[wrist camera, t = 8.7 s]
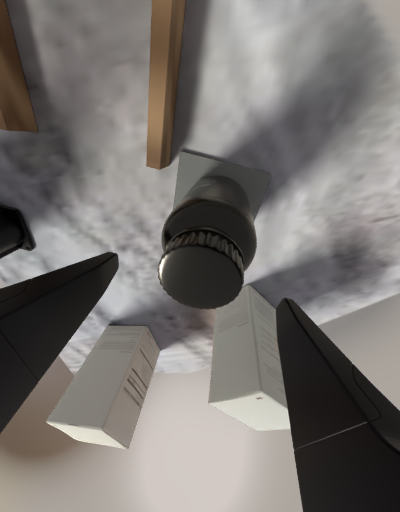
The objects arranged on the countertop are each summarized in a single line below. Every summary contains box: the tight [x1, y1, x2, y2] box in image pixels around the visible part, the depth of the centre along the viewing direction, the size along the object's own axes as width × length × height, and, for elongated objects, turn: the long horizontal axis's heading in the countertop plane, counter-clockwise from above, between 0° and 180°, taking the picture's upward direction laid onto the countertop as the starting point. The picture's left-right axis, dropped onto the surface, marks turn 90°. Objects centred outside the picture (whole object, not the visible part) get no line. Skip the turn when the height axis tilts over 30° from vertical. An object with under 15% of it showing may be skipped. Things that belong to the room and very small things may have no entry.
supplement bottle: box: [158, 175, 257, 309], centre depth 15 cm, size 7×7×12 cm
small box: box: [209, 285, 291, 431], centre depth 22 cm, size 8×6×13 cm
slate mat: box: [173, 151, 272, 220], centre depth 20 cm, size 9×9×1 cm
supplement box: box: [46, 326, 160, 449], centre depth 31 cm, size 9×9×15 cm
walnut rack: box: [0, 0, 186, 170], centre depth 13 cm, size 14×15×3 cm
